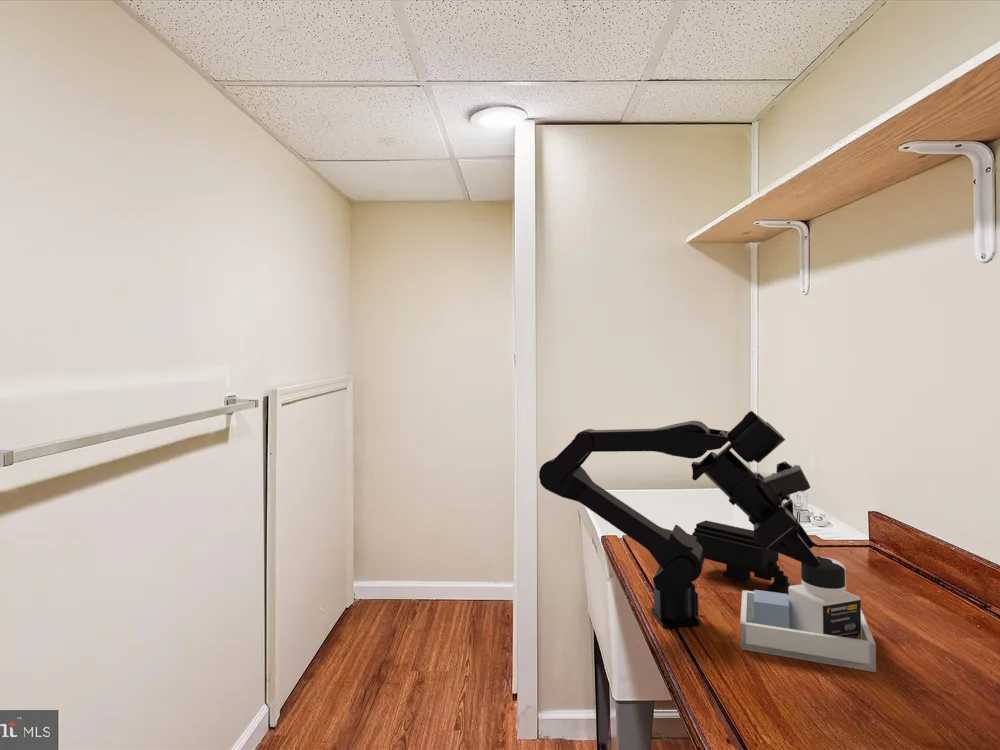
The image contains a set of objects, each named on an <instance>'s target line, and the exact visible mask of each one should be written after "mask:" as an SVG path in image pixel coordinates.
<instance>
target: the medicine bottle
mask: <svg viewBox="0 0 1000 750" xmlns="http://www.w3.org/2000/svg"><path fill="white" fill-rule="evenodd" d="M815 557H816V558H817V559H818V561H819V562H820V565H819V566H818V567H816V568H813V567H811V566H809V565H806V564H804V563H802V562H800V563H801V564H800V568H801V569H800V571H801V576H800V577H801V583H800V584H795V585H794V584H793V585H790V586H789V588H788V589H787V590H788V596H789V627H790V629H794V630H801V631H807V632H814V633H820V634H827V635H833V636H840V637H846V638H853V639H859V640H861V610H862V608H861V606H862V605H861V604H862V603H861V602H862V600H861V597H860V596H858V595H855V594H853V593H852V592H849V591H847V574H846V573H847V572H846V571H847V568H846V566H845V565H844V564H843V563H842V562H840V561H838V560H837V559H833V558H831V557H826V556H816V555H815Z"/></svg>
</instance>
